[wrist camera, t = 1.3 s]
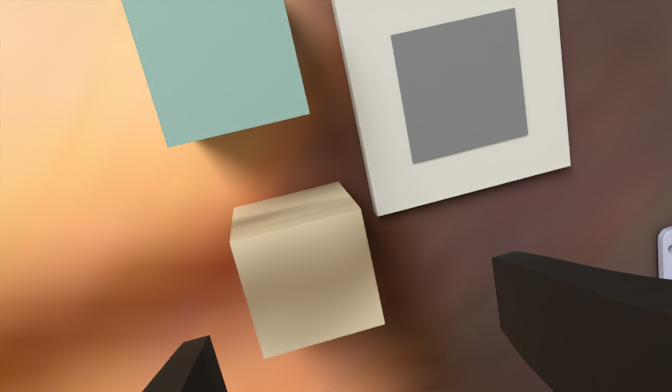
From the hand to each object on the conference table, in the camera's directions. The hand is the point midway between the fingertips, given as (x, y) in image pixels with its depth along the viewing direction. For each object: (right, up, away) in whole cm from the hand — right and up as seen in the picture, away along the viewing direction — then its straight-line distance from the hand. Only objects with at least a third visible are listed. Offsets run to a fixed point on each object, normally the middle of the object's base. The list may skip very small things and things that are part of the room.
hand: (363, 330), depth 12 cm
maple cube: (-2, +1, +9) cm, 10 cm away
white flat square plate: (+4, +8, +9) cm, 13 cm away
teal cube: (-5, +9, +7) cm, 12 cm away
